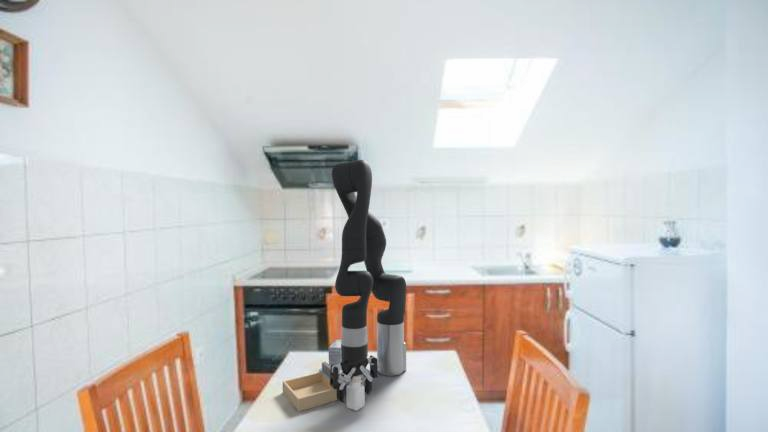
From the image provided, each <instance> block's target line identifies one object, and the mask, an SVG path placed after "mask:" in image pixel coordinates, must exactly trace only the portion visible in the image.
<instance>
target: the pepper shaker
mask: <svg viewBox="0 0 768 432" xmlns="http://www.w3.org/2000/svg"><path fill="white" fill-rule="evenodd" d="M361 382H362V380H361V375H357V376H353V378H352V379H351V378H350V384H347V385H346V398H345V399H346V407H347V408H348V409H351V410H353V411H359V410H361V408H364V406H365V403H366V402H365V397H366V396H365V394H366V393H365V384H362V383H361Z"/></svg>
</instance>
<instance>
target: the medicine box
mask: <svg viewBox="0 0 768 432" xmlns="http://www.w3.org/2000/svg"><path fill="white" fill-rule="evenodd" d="M341 361H342V359H341V339H335V340H334V342H332V344H331V345H330V346H329V347H328V364H329V365H330V366H331V365H339V364H341Z"/></svg>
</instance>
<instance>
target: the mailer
mask: <svg viewBox="0 0 768 432" xmlns="http://www.w3.org/2000/svg"><path fill="white" fill-rule="evenodd" d="M282 394H283V395H284V396H285V397H286V398H287V400H288V401H289V402H290V403H291V405H292V406H293V407H294V408H295V409H296V411H298V412H302V411H305V410H309V409H312V408H317V407H319V406H322V405H326V404H328V403H333V402H336V401H339V400H338V399H337V389H334V388H333V387H332V386H330V380H328V379H327V378H326V377H325V376H324V375H323V374H322V373H320V372H319V371H318V372H313V373H311V374H310V373H309V374H306V375H302V376H298V377H294V378H290V379H287V380H283V381H282Z"/></svg>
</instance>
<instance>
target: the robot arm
mask: <svg viewBox="0 0 768 432" xmlns="http://www.w3.org/2000/svg"><path fill="white" fill-rule="evenodd" d="M331 179H332V182H333V183H332V184H333V186H334V189H335V191H336V193H337V195H338V198H339V200H340V202H341V204H342V206H343V208H344V210H345V213H346V214H347V219H346V221H345V224H344V227H343V229H342V234H341V259H340V265H339V269H338V273H337V275H336V279H335V283H334V288H335V291H336V293H337V294H338V295H339V296H340V297H359V299H358V300H356V301H354V302H351V303H350V302H349V303H347V304H346V303H345V304H344V305H343V306H342V309H341V330H340V331H341V332H340V340H341V359H342V361H341V364H340V365H336V366H335V365H331V369H330V386H332V387H333V388H334V389H337V399H338V400H337V401H339V402H340V403H344V402H345V388H344V387H345V386H346V385H345V384H346V383H347V382H348V381H349V379H350V378H351V379H352V378H353V376H357V375H363V376H364V377H365V378H366V379H364V387H365V394H366V395H370V394H371V392H372V391H373V390H372V389H373V380H374V379H376V378H378V377H379V374H380V375H384V376H389V377H393V376H398V375H401V374H403V373H404V372H405V371H407V343H406V342H405V328H404V327H405V314H406V304H407V303H406V302H407V282H406V280H405V278H404V277H403V276H401V275H398V274H390V273H386V272H385V271H384V267H383V265H382V263H383V262H382V259H383V256H384V253H385V251H386V247H387V238H386V235H385V232H384V231H385V230H384V229H383V226H382V223H381V221H380V220H379V219H378V218H377V217H376V216H375V214H373V213H372V212H371V211H370V210H369V209H370V204H371V203H370V202H371V195H372V186H373V173H372V168H371V166H370V164H369V162H367V161H366V160H365V159H356V160H352V161H345V162H339V163H336V164H335V165H333V167H332V169H331ZM358 263H364V266H365V269H366V270H349V268H350V267H351V266H352V265H355V264H358ZM371 292H372V293H371ZM371 295H372V296H374V298H375V299H377V300H379V301H381V302H388V303H389V304H388V305H389V306H388V308H387V309H383V310H381V311H378V312H377V315H376V357H375V356H373V355H369V353H368V352H369V351H368V346H369V345H368V343H369V342H368V341H369V340H368V339H369V337H368V336H369V335H368V332H369V331H368V325H367V324H368V320H367V319H368V314H367V313H368V305H369V300H370V298H371ZM368 355H369V357H368ZM368 364H369V370H370V374H369V373H368V372H367V370H366V368H367V366H368ZM340 370H342V372H341V374H340V376H339V379H338V374H339V373H340ZM345 375H346V377H344V376H345Z"/></svg>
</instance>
